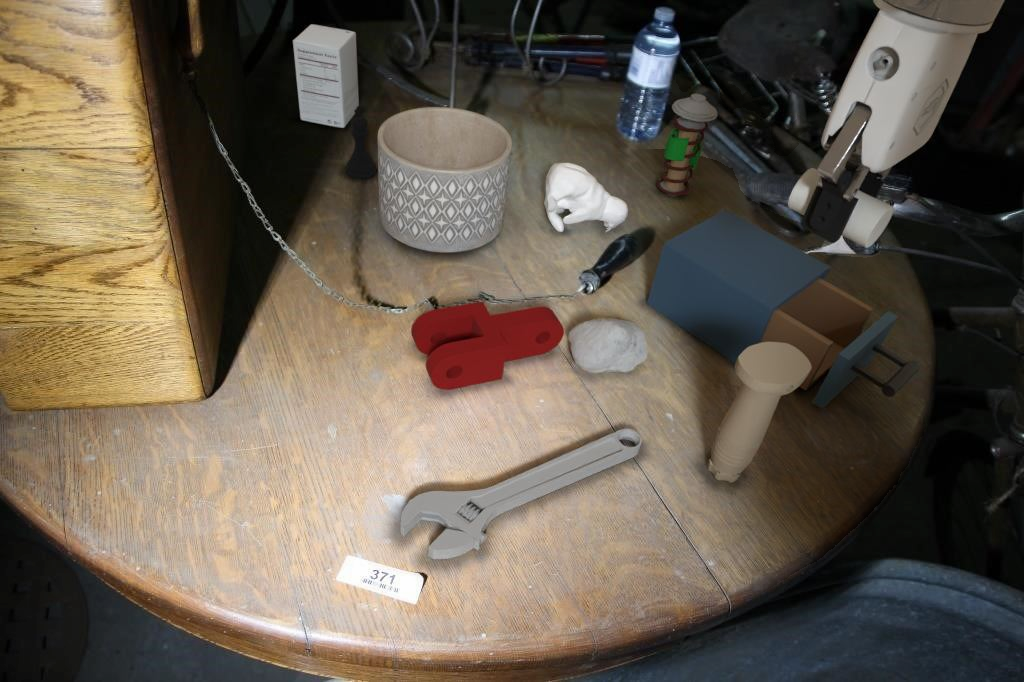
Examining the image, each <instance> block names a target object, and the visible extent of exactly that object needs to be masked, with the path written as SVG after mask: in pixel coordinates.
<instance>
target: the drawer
mask: <svg viewBox="0 0 1024 682" xmlns="http://www.w3.org/2000/svg"><path fill="white" fill-rule="evenodd" d="M873 310H874V308H873V307H872V306H870V305H868V304H867V303H865V302H864V301H861V300H860V299H859V298H856V297H854V296H852V295H851V294H849V293H848V292H846V291H844V290H842V289H840V288H839V287H837V286H835V285H833V284H831V283H830V282H828V281H826V280H825V279H824V280H823V279H821V278H819V279H818V280H817V281H815V282H814V283H812V284H811V285H810V286H808V287H807V288H806V289H804V290H803V291H802V292H800V293H799V294H797V295H796V296H795V297H793V298H792V299H791V300H789V301H788V302H786V303H785V304H784V305H782V306H781V307H780V308H778V309H777V310H775V311H774V312H773V315H772V317H771V319H770V321H769V324H768V326H767V328H766V330H765V333H764V335H763V337H762V340H761V342H760V343H763V342H780V343H788V344H790V345H792V346H794V347H796V348H797V349H798V350H800V351H801V352H802V353H803V354H804V355H805V356H806V357H807V358H808V360H809V361H810V363H811V367H812V369H811V371H810V372H809V374H808V376H807V377H806V379H805V380H804V381H803V383H802V384H801V385H800V386H799V387H798V388H801V389H802V390H804V391H807V390H808V389H809V388H811V387H812V386H813V385H814V384H815V383H816V382H818V381H819V380H820V379H821V378H822V377H823V376H824V375H825V374H827V375H826V376H825V378H824V380H823V381H822V384H821V385H820V387H819V389H818V391H817V393H816V394H815V396H814V398H813V400H812V404H813V405H815V406H817V407H818V408H820V409H821V410H822V409H823V408H825V407H826V406H827V405H828V404H829V403H830V402H831V401H833V399H834V398H836V396H838V394H840V393H841V392H842V391H843V390H845V388H846V387H847V386H849V385H850V384H851V383H852V382H853V381H854V380H855V379H856V378H857V377H858V376H859V375H860V376H861V377H862V378H864V379H866V380H867V381H869V382H871V383H872V384H874V385H875V386H877V387H879V388H880V390H881V393H882V394H883V395H884V396H885V397H887V398H893V397H895V395H897V394H898V392H899V391H900V390H901V389H902V388H903V387H904V386H905V385H906V384H907V383H908V382H909V381H910V380H911V379H912V378H913V377H914V376H915V375H916V374H917V373H918V372H919V371H920V369H921V368H920V364H919V363H918V362H917V361H915V360H908V361H907V360H905V359H904V358H902V357H900V356H898V355H897V354H895V353H893V352H892V351H891V350H889V349H887V348H885V347H883V343H884V342H885V341H886V338H887V337H888V335H889V334H890V332H891V330H892V328H893V327H894V325H895V323H896V322H897V320H898V318H899V315H897V314H895V313H894V312H891V311H890V310H887V311H886V312H885V313H884V314H883V315H882V316H880V317H879V318H878V319H877V320H876V321H875V322H874V323H872V324H871V325H870V326H869V327H868V328H866V329H865V330H864V331H863V328H864V327H865V325H866V324H867V322H868V319H869V317H870V316H871V314H872V312H873ZM862 331H863V332H862ZM861 332H862V333H861ZM860 333H861V334H860ZM877 353H878V354H879V355H881V356H882V357H884V358H886V359H887V360H889V361H891V362H893V363H894V364H896V365H898V366H899V367H900V368H899V369H898V370H897V371H895V373H894V374H893V375H892V376H891V377H889V379H888V380H887V381H886V380H884V379H882V378H880V377H879V376H877V375H876V374H874V373H873V372H871V371H869V370H868V369H867V368H868V367H869V366H870V365H871V364H872V362H873V360H874V359H875V357H876V355H877ZM827 372H828V373H827Z"/></svg>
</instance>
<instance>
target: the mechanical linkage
mask: <svg viewBox="0 0 1024 682" xmlns="http://www.w3.org/2000/svg"><path fill="white" fill-rule="evenodd" d="M410 333H411V337H412V340H413V342H414V344H415V346H416V349H417V350H418V351H419V352H420V353H421V354H422V355H427V356H428V357H427V358H426V362H425V369H426V372H427V374H428V377H429V379H430V381H431V383H432V385H433V386H434V387H435V388H437V389H439V390H444V391H451V390H456V389H461V388H466V387H470V386H475V385H480V384H484V383H485V384H486V383H490V382H494V381H499V380H502V379H503V375H504V367H505V362H510V361H516V360H520V359H525V358H531V357H535V356H540V355H544V354H546V353H548V352H550V351H552V350H554V349H555V348H556V347H557V346H558V345H559V344H560V342H561V341H562V340H563V338H564V334H565V328H564V326H563V324H562V322H561V321H560V320H559V318H558V317H557V315H556V314H555V312H554V310H553V309H552V308H550V307H548V306H534V307H528V308H523V309H518V310H511V311H506V312H501V313H495V314H490V312H489V310H488V308H487V307H486V305H485V303H484V301H483V300H482V301H476V302H470V303H465V304H459V305H453V306H448V307H447V306H446V307H442V308H436V309H435V308H434V309H431V310H428V311H426V312H423V313H422V314H421V315H419V316H418V317H417V318H416V319H415V320H414V322H413V323H412V325H411V328H410Z"/></svg>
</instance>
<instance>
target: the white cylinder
mask: <svg viewBox="0 0 1024 682" xmlns="http://www.w3.org/2000/svg"><path fill="white" fill-rule="evenodd" d="M819 177H820V175H819V174H818V173H817V169H816V168H814V167H811V168H809V169H807V170H806V171H805V172H804V173H803V174H802V175H801V176H800V177H799V179H798V180H797V181H796V183H795V185H794V187H793V188H792V190H791V192H790V195H789V198H788V201H787V207H788V208H789V209H791V210H792V211H794V212H796V213H797V214H800V215H802V216H804V214H805V212H806V209H807V207H808V205H809V202H810V200H811V198H812V195H813V193H814V191H815V188H816V186H817V181H818V179H819ZM855 198H857V199H859V200H858V202H857V204H856V206H855V208H854V210H853V212H852V214H851V216H850V218H849V221H848V223H847V225H846V227H845V229H844V231H843V233H842V235H841V237H844V238H846V239H848V240H849V241H852V242H854V243H856V244H857V245H859V246H861V247H864V248H865V249H868V248H870V247H871V246H872V245H874V243H875V242H877V240H878V239H879V238H880V236H881V235H882V234H883V232H884V230H885V229H886V228H887V226H888V224H889V223H890V220H891V219H892V217H893V214H894V211H895V208H894V206H892V205H890V204H888V203H886V202H884V201H882V200H880V199H878V198H877V197H876V198H874V197H872V196H870V195H868V194H866V193H864V192H862V191H860V190H858V192H857V193H856V195H855Z"/></svg>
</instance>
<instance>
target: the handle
mask: <svg viewBox="0 0 1024 682" xmlns="http://www.w3.org/2000/svg"><path fill="white" fill-rule="evenodd" d="M811 369H812V367H811V363H810V361H809V360H808V358H807V357H806V356H805V355H804V354H803V353H802V352H801V351H800V350H798V349H797V348H796V347H794V346H792V345H790V344H788V343H780V342H763V343H759V344H755V345H752V346H749V347H748V348H746V349H745V350H744V351H743V352H742V353H741V354H740V355H739V356H738V359H737V361H736V363H734V371H735V373H736V376H737V377H738V378H739V380H740V381H741V382H742V385H741V387H740V389H739V390H738V393H737V395H736V396H735V398H734V399H733V402H732V404H731V406H730V407H729V409H728V411H727V412H726V414H725V417H723V420H722V421H721V424H720V426H719V429H718V431H717V433H716V435H715V439H714V442H713V445H712V449H711V454H710V455H711V457H710V458H709V460H708V464H707V469H708V472H711V473H712V475H713V476H714V479H715V480H717V481H727V482H729V483H734V482H736V481H737V480H738V479H739V477H740V476H741V473H742V472H743V471H744V470H745V469H746V468H747V467H748V466H749V464H750V463H751V461H752V460H753V458H754V457H755V455H756V453H757V452H758V449H759V448H760V446H761V444H762V442H763V440H764V439H765V436H766V434H767V430H768V428H769V426H770V423H771V421H772V419H773V415H774V414H775V411H776V409H777V406H778V404H779V401H780V399H781V397H782V396H784V395H789V394H790V393H793V392H794V391H796V390H797V389H798V388H800V387H799V386H800V385H801V384H802V383H803V381H804V380H805V379H806V377H807V376H808V374H809V372H810V371H811Z"/></svg>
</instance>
